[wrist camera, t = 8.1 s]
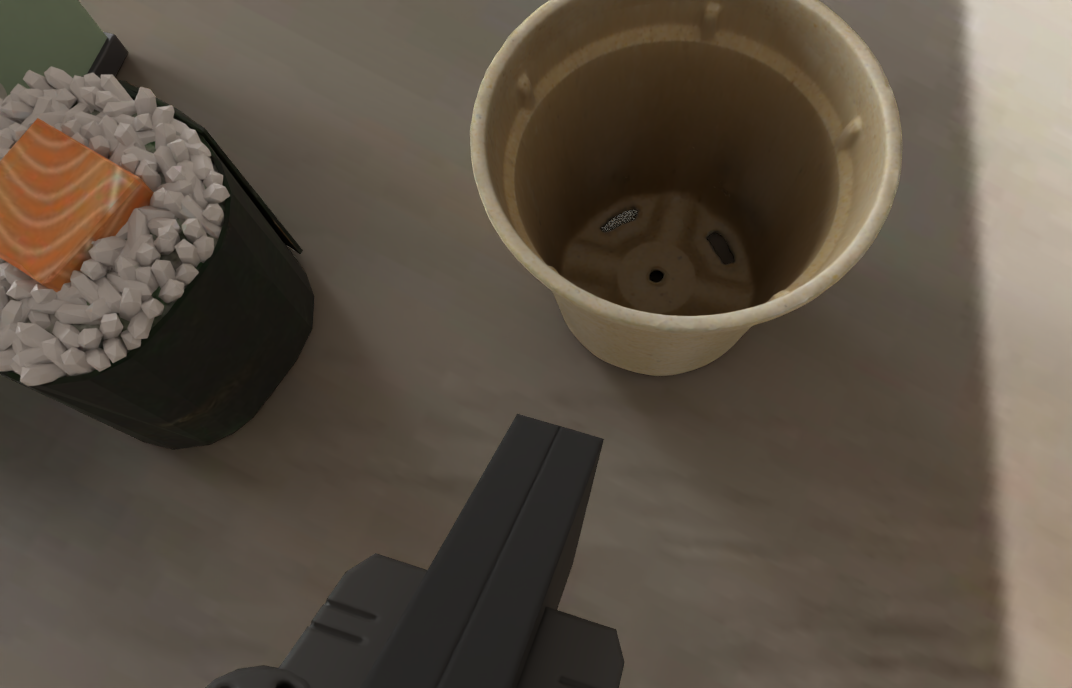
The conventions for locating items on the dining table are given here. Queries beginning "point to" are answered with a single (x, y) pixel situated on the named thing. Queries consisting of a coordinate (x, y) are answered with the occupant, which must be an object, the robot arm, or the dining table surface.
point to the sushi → (139, 264)
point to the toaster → (53, 42)
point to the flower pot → (684, 165)
